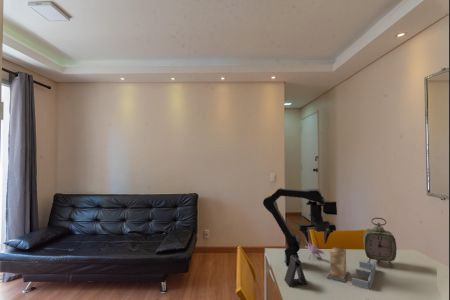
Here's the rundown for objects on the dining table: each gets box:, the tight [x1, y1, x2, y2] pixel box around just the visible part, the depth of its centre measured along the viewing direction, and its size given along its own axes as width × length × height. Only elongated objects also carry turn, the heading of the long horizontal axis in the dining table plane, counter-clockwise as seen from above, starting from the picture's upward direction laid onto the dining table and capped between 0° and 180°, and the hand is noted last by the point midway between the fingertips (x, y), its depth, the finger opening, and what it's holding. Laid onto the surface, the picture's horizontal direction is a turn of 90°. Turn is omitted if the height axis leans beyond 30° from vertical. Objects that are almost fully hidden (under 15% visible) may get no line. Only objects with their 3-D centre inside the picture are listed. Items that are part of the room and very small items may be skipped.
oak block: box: [329, 246, 347, 279], centre depth 129 cm, size 6×6×12 cm
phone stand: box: [284, 255, 309, 288], centre depth 123 cm, size 9×6×12 cm, turn 97°
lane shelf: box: [351, 260, 377, 290], centre depth 127 cm, size 7×22×4 cm, turn 145°
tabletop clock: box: [362, 217, 398, 268], centre depth 142 cm, size 14×9×25 cm, turn 68°
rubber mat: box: [326, 271, 350, 283], centre depth 129 cm, size 8×11×1 cm
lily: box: [304, 239, 326, 260], centre depth 150 cm, size 12×12×10 cm
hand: (316, 243), depth 138 cm, fingers open, 9 cm apart
